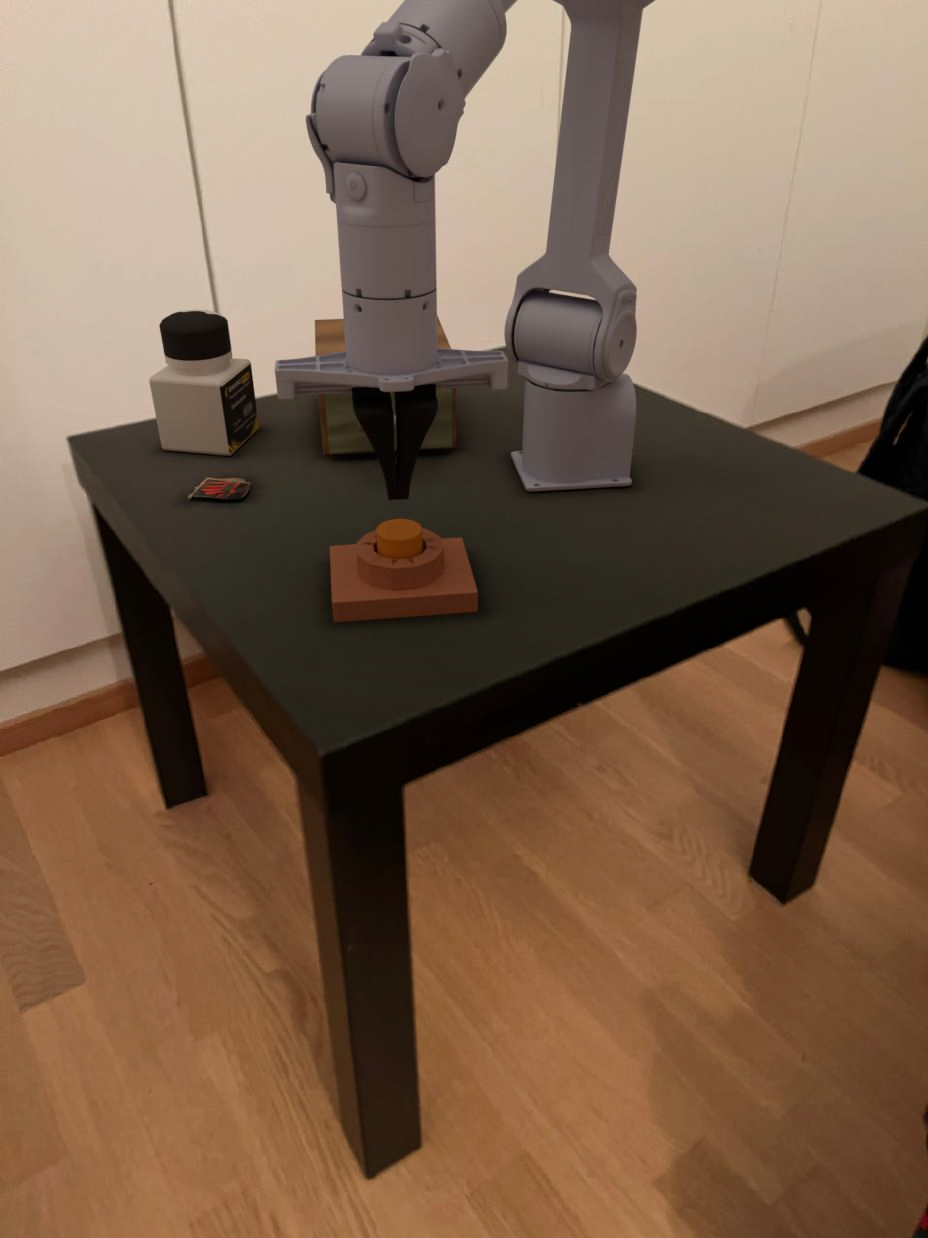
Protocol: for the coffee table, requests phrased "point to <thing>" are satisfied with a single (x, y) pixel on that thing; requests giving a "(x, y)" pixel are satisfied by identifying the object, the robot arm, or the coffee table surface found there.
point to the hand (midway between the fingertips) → (397, 493)
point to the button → (399, 539)
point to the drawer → (352, 437)
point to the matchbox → (222, 488)
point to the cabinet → (333, 341)
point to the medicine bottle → (202, 387)
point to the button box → (401, 580)
